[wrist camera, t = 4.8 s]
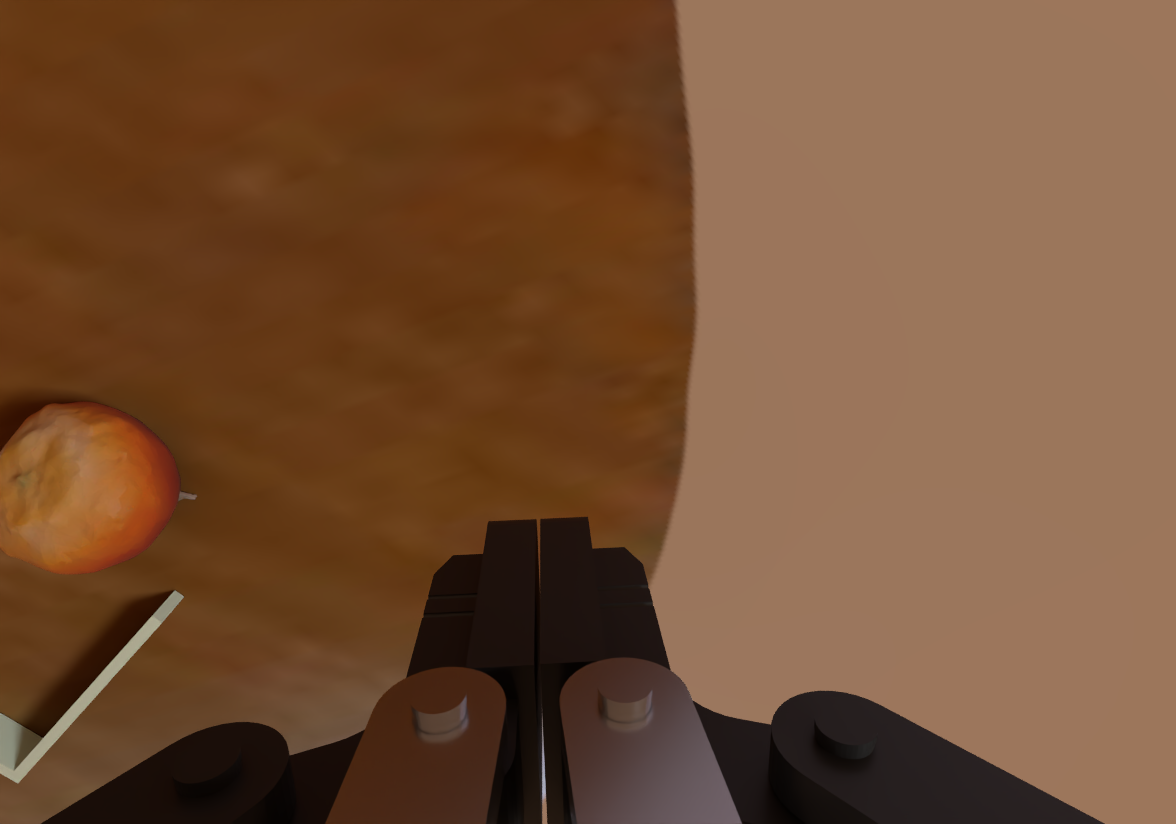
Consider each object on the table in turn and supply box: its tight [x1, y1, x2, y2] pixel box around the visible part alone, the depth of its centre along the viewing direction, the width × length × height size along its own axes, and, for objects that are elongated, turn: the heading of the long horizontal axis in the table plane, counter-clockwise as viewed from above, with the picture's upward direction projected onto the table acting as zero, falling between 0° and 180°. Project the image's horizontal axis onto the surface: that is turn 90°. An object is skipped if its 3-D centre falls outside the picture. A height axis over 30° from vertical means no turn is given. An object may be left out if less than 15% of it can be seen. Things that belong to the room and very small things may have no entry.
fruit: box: [0, 401, 197, 574], centre depth 36 cm, size 8×8×8 cm
